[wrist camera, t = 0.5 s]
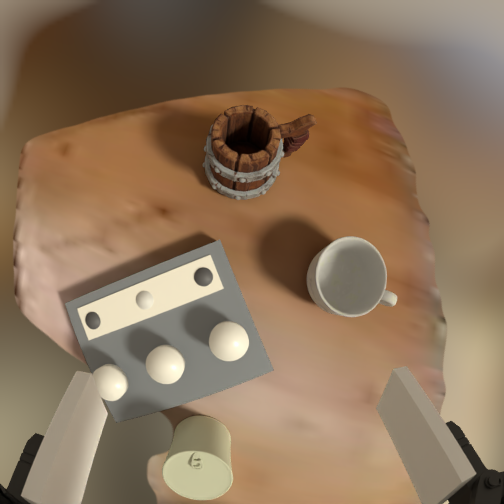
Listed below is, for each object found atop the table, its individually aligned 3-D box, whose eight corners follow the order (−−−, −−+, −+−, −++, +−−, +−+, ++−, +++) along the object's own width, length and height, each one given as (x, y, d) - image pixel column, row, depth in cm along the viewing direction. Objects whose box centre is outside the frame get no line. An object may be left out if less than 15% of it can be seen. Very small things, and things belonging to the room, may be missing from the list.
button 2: (134, 391, 36) (130, 396, 34) (106, 399, 35) (101, 404, 33) (119, 359, 36) (114, 362, 34) (91, 368, 36) (85, 372, 34)
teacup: (286, 286, 45) (299, 285, 37) (326, 230, 47) (345, 219, 39) (353, 337, 45) (376, 345, 37) (388, 282, 46) (414, 281, 39)
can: (231, 416, 42) (234, 454, 30) (230, 461, 40) (232, 504, 28) (173, 412, 41) (158, 448, 29) (175, 458, 40) (163, 498, 28)
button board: (270, 365, 43) (274, 370, 40) (122, 415, 40) (115, 423, 36) (220, 242, 45) (219, 239, 41) (73, 302, 41) (63, 303, 38)
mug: (191, 144, 46) (202, 86, 32) (271, 135, 50) (305, 83, 36) (207, 211, 45) (223, 169, 31) (291, 195, 49) (335, 155, 35)
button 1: (253, 349, 38) (254, 352, 36) (218, 363, 38) (218, 366, 36) (238, 315, 39) (239, 316, 37) (203, 329, 38) (202, 331, 36)
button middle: (191, 373, 37) (189, 377, 35) (158, 384, 37) (155, 388, 35) (176, 339, 38) (173, 342, 36) (143, 351, 37) (139, 354, 35)
